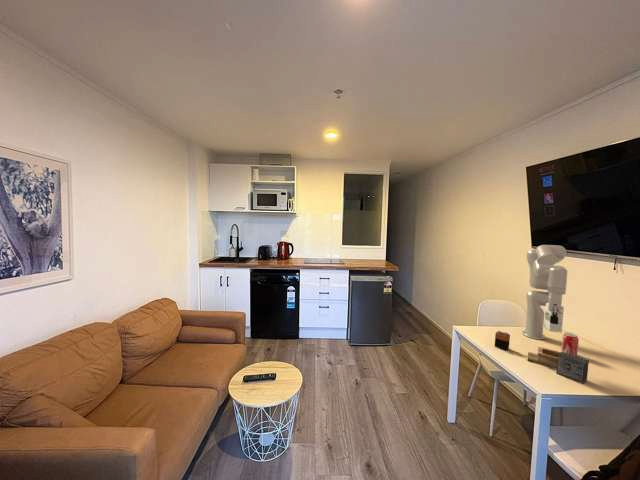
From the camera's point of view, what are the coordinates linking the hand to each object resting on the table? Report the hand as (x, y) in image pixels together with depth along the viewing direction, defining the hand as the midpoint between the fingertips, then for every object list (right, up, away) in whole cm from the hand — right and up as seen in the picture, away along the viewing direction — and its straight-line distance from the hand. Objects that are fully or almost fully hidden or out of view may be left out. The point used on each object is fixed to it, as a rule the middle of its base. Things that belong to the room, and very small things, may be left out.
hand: (553, 321), depth 148 cm
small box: (-1, -25, -12) cm, 28 cm away
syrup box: (0, -5, 0) cm, 5 cm away
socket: (-1, -24, +1) cm, 24 cm away
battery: (-16, -22, +19) cm, 33 cm away
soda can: (+20, -24, +13) cm, 34 cm away
